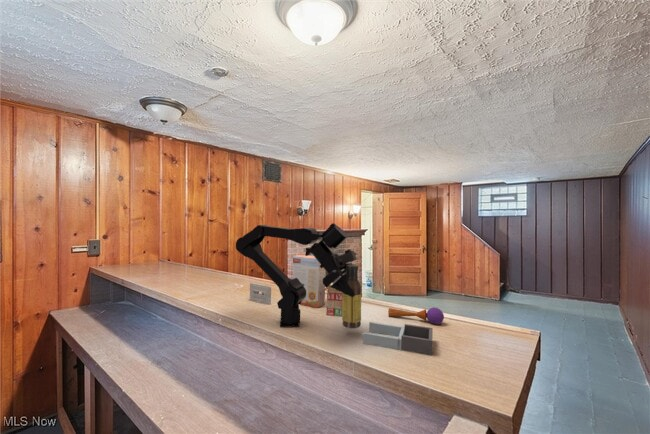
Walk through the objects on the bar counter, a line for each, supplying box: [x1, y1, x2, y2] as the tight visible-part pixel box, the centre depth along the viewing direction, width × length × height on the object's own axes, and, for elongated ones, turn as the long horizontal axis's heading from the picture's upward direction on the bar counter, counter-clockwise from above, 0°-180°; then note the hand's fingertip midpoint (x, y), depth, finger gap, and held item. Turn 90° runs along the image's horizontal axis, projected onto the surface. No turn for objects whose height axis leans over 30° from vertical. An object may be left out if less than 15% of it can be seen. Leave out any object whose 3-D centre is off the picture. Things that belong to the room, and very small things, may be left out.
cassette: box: [249, 282, 272, 306], centre depth 130 cm, size 12×2×8 cm, turn 58°
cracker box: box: [292, 254, 327, 309], centre depth 130 cm, size 14×6×21 cm, turn 58°
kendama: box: [387, 306, 445, 325], centre depth 113 cm, size 6×6×20 cm
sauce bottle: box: [341, 263, 362, 330], centre depth 98 cm, size 6×6×20 cm
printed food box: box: [326, 283, 343, 317], centre depth 126 cm, size 21×6×12 cm, turn 171°
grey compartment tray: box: [362, 321, 434, 356], centre depth 92 cm, size 20×11×4 cm, turn 70°
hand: (356, 293), depth 97 cm, fingers closed on sauce bottle, 6 cm apart
